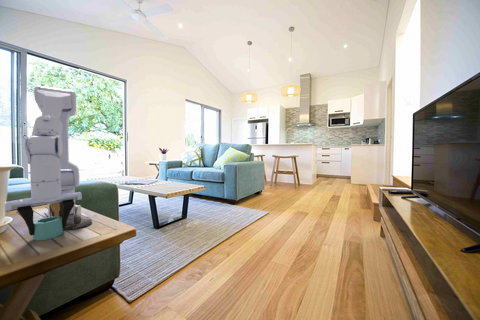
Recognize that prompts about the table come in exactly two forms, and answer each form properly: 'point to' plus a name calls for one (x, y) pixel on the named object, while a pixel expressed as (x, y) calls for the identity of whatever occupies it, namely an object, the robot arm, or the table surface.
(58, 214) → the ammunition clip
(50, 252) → the table surface
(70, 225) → the dark round peg base
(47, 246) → the table surface
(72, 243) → the table surface
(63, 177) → the robot arm
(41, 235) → the collar
